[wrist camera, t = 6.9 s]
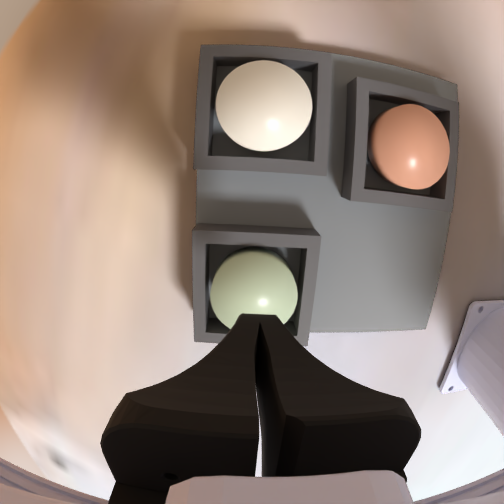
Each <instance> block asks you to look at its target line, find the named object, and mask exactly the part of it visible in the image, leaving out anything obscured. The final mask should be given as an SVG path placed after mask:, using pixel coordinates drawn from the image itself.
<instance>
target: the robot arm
mask: <svg viewBox="0 0 504 504" xmlns="http://www.w3.org/2000/svg"><path fill="white" fill-rule="evenodd" d="M479 308H480V309H479ZM478 309H479V310H478ZM255 383H256V384H255ZM465 389H468V390H469V391H470V392H471V394H472V395H473V396H474V398H475V399H476V400H477V401H478V403H479V404H480V405H481V407H482V408H483V409H484V411H485V412H486V413H487V415H488V416H489V417H490V419H491V420H492V421H493V423H494V424H495V425H496V427H497V428H498V430H499V431H500V432H501V434H502V435H503V436H504V300H493V301H475V302H473V303H471V305H470V306H469V309H468V312H467V315H466V319H465V322H464V325H463V328H462V331H461V334H460V337H459V340H458V343H457V345H456V348H455V351H454V354H453V356H452V359H451V361H450V364H449V366H448V369H447V371H446V374H445V376H444V379H443V381H442V383H441V386H440V388H439V391H440V392H441V393H442V394H446V393H451V392H456V391H460V390H465ZM256 392H257V397H256ZM257 401H258V407H257ZM258 409H259V414H258ZM259 417H260V425H261V436H262V477H255V470H256V461H257V452H258V443H259ZM420 438H421V428H420V426H419V424H418V422H417V420H416V418H415V416H414V414H413V412H412V410H411V409H410V407H409V406H408V404H407V402H406V401H405V400H404V399H403V398H399V397H396V396H392V395H389V394H385V393H382V392H378V391H376V390H373V389H370V388H368V387H365V386H363V385H360V384H358V383H356V382H354V381H352V380H350V379H348V378H346V377H344V376H343V375H341V374H339V373H337V372H335V371H334V370H332V369H331V368H329V367H328V366H326V365H325V364H324V363H322V362H321V361H319V360H318V359H317V358H315V357H314V356H313V355H312V354H311V353H310V352H308V351H307V350H306V349H305V348H304V347H303V346H302V345H301V344H300V343H299V342H298V341H297V340H296V339H295V337H294V336H293V335H292V334H291V333H290V332H289V330H288V329H287V328H286V327H285V325H284V324H283V323H282V321H281V320H280V319H279V317H278V316H277V315H269V314H246V313H242V314H240V315H239V316H238V318H237V320H236V322H235V324H234V325H233V327H232V328H231V329H230V331H229V332H228V333H227V335H226V336H225V337H224V338H223V339H222V341H221V342H220V343H219V344H218V345H217V346H216V347H215V348H214V349H213V350H212V351H211V352H210V353H209V354H208V355H206V356H205V357H204V358H203V359H202V360H200V361H199V362H198V363H196V364H195V365H193V366H192V367H190V368H189V369H187V370H185V371H184V372H182V373H180V374H178V375H176V376H174V377H172V378H170V379H168V380H166V381H163V382H161V383H158V384H156V385H153V386H150V387H147V388H143V389H140V390H137V391H133V392H129V393H126V394H125V396H124V397H123V399H122V400H121V402H120V403H119V404H118V406H117V407H116V409H115V411H114V412H113V414H112V416H111V418H110V420H109V422H108V424H107V426H106V428H105V430H104V432H103V434H102V438H101V443H100V444H101V448H102V452H103V454H104V457H105V459H106V461H107V463H108V466H109V468H110V470H111V472H112V474H113V476H114V478H115V480H116V483H115V485H114V488H113V491H112V494H111V496H110V499H109V501H108V500H105V499H101V498H98V497H94V496H91V495H88V494H85V493H82V492H79V491H76V490H73V489H70V488H68V487H65V486H62V485H60V484H57V483H54V482H52V481H49V480H47V479H44V478H42V477H40V476H37V475H35V474H33V473H31V472H28V471H26V470H24V469H22V468H20V467H18V466H15V465H14V464H12V463H10V462H8V461H6V460H4V459H2V458H0V504H504V469H502V470H500V471H497V472H495V473H493V474H491V475H489V476H486V477H484V478H482V479H479V480H477V481H474V482H472V483H469V484H467V485H464V486H461V487H459V488H456V489H453V490H450V491H448V492H445V493H442V494H439V495H435V496H432V497H429V498H426V499H422V500H419V501H415V502H413V500H412V497H411V495H410V492H409V490H408V487H407V484H406V482H407V477H406V475H405V472H404V470H403V469H404V468H405V466H406V464H407V463H408V461H409V459H410V458H411V456H412V454H413V453H414V451H415V449H416V448H417V446H418V443H419V441H420Z"/></svg>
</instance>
